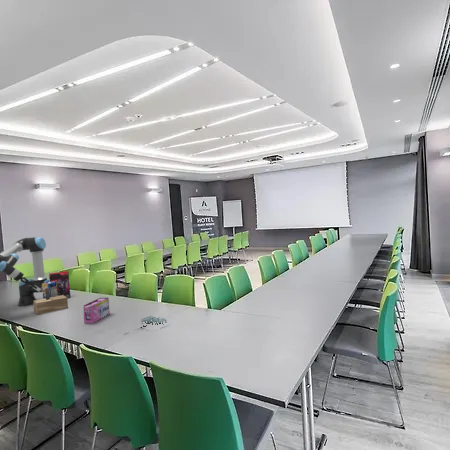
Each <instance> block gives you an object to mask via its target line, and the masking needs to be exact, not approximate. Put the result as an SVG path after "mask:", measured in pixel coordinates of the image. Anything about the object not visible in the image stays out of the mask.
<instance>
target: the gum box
mask: <svg viewBox="0 0 450 450" xmlns="http://www.w3.org/2000/svg"><path fill="white" fill-rule="evenodd" d="M82 307H83V322H84V324H94V323H96V322H97V320H98V321H99V319H100V318H101V319H102V317H103V318H104V316H105V317H107V316H108V315H110V314H109V313H111V312H110V299H109V297H99V298H97V299H95V300H93V301H91V302H88V303H86V304H84V305H83V306H82ZM107 314H108V315H107ZM106 315H107V316H106ZM101 319H100V320H101ZM95 321H96V322H95ZM93 322H94V323H93Z"/></svg>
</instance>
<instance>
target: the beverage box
mask: <svg viewBox="0 0 450 450" xmlns="http://www.w3.org/2000/svg"><path fill="white" fill-rule="evenodd" d="M45 288H49V297H55V296H58V294H57V282H51V281H50V280H49V281H48V282H44V283H42V289H43V292H42V299H44V298H46V293H45Z"/></svg>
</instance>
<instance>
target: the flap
mask: <svg viewBox="0 0 450 450" xmlns="http://www.w3.org/2000/svg"><path fill="white" fill-rule="evenodd" d="M45 293H46V298H44V299H43V298H40V299H36V300H34V302H35V303H37V304H40V303H44V302H49V301H52V300H51V299H50V297H49V288H45Z"/></svg>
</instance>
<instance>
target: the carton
mask: <svg viewBox="0 0 450 450" xmlns="http://www.w3.org/2000/svg"><path fill="white" fill-rule="evenodd" d="M50 299H51V300H52V301H49V302H44V303H40V304H37V303H35V302H33V304H32V306H33V312H34V313H35V314H36V315H37V316H40V315H44V314H48V313H52V312H57V311H61V310H66V309H69V305H68V304H69V303H68V298H67V297H66V296H64V295H60V296H55V297H50Z"/></svg>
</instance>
